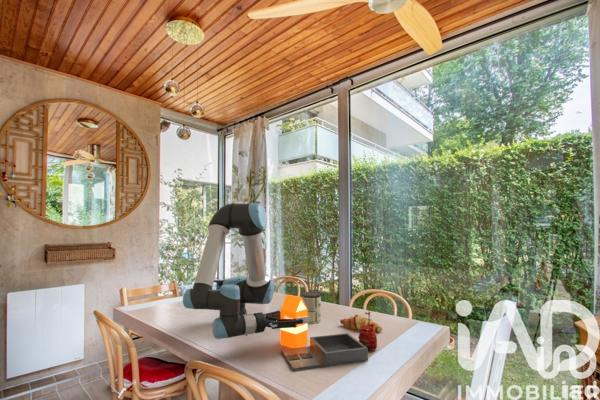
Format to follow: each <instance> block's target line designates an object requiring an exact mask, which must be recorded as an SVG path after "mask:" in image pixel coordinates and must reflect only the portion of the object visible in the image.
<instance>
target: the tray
mask: <svg viewBox="0 0 600 400" xmlns="http://www.w3.org/2000/svg"><path fill="white" fill-rule="evenodd" d="M281 354H282V356H283V357H284V359H285V360H286V362H287V364H288V365H289V367H290V369H291V370H292V372H298V371H305V370H313V369H320V368H325V367H334V366H339V365H349V364H354V363H362V362H368V361H369V351H368V348H367V347H366V346H364V345H363V344H362V343H360V342H359V340H358V339H356V338H355V337H354V336H352V335H351V334H349V333H348V332H346V333H345V332H344V333H337V334H329V335H317V336H310V337H309V346H308V345H307V346H302V347H299V348H290V347H289V348H284V349H281Z"/></svg>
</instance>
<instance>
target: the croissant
mask: <svg viewBox="0 0 600 400" xmlns="http://www.w3.org/2000/svg"><path fill="white" fill-rule="evenodd" d="M368 319H369V318H366V317H365V316H363V315H361V314H354V316H350V317H349V318H347V317H346V318H344V319H340V324H341V325H343V326H344V327H345V328H346V329H350V330H352V331H354V332H355V331H357V332H360V331H361V329H362V326H363V325H365V326H367V325H368V322H370V326H371V327H373V329H374V331H375V333H379V332H382V331H383V327H382V326H381V325H380V324H378V323H377V322H375V321H374V320H372V319H371V318H370V321H369V320H368Z"/></svg>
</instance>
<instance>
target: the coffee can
mask: <svg viewBox="0 0 600 400" xmlns="http://www.w3.org/2000/svg"><path fill="white" fill-rule="evenodd" d="M321 296H322V293H320V292H318V291H305V292H302V293H301V297H302V299H303V302H304V304H305V306H306V308H307V316H309V323H308V324H309V325H310V324H318V323H321V322H322V307H321V306H322V304H321V303H322V298H321Z"/></svg>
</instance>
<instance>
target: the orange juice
mask: <svg viewBox="0 0 600 400" xmlns="http://www.w3.org/2000/svg"><path fill="white" fill-rule="evenodd" d="M279 311H280V312H281V319H294V318H298V317H304V316H307V308H306V306H305V304H304V302H303V299H302V296H297V295H291V294H286V296H285V298H284V300H283V302H282V305H281V307H280V310H279ZM308 324H309V323H306V324H300V325H296V328H279V331H280V332H279V333H280V335H279V336H280V338H279V340H280V342H279V343H280V345H281V346H285V347H286V348H287V347H288V348H289V349H290V348H299V347H305V346H306V345H307V346H308V330H309V329H308Z"/></svg>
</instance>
